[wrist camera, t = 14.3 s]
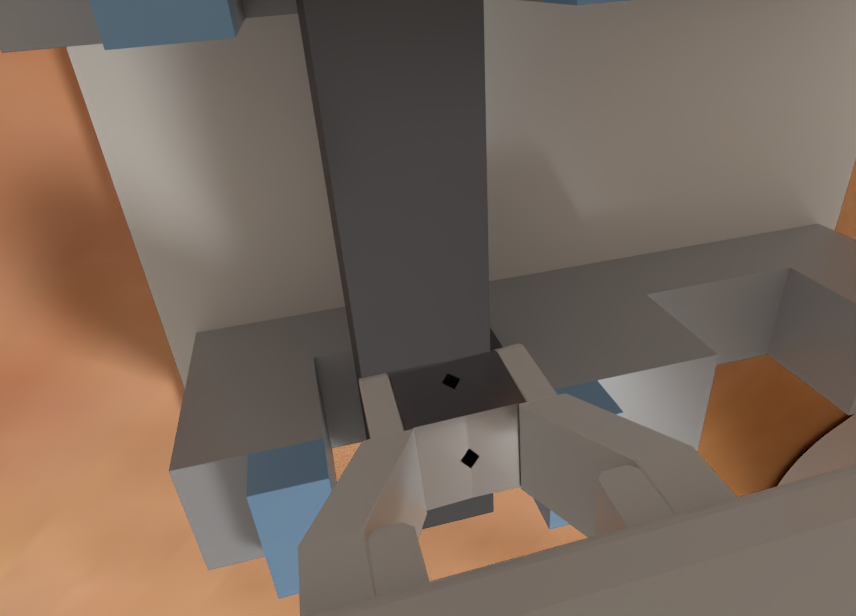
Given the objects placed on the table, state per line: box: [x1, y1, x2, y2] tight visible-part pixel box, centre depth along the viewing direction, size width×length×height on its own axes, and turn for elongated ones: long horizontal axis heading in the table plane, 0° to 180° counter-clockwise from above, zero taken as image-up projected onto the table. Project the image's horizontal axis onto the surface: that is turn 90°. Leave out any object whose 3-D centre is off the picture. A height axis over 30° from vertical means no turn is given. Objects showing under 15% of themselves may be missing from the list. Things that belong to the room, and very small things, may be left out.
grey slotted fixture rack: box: [0, 0, 856, 598], centre depth 18 cm, size 28×20×10 cm
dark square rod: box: [296, 0, 493, 529], centre depth 16 cm, size 4×20×4 cm, turn 4°
